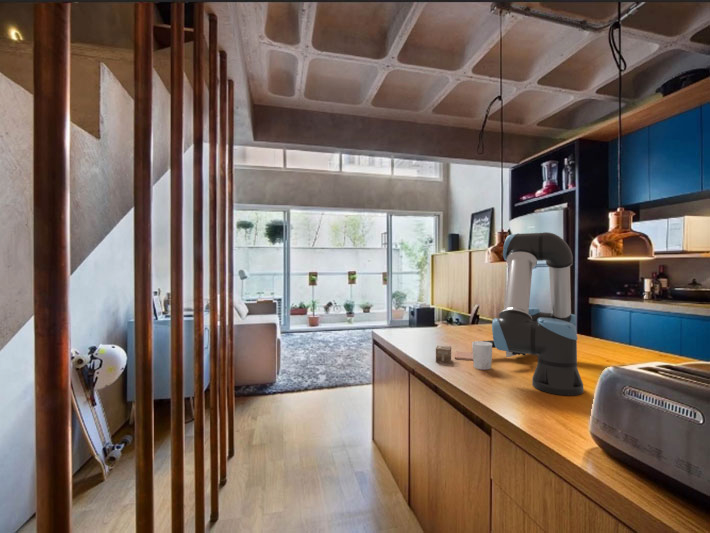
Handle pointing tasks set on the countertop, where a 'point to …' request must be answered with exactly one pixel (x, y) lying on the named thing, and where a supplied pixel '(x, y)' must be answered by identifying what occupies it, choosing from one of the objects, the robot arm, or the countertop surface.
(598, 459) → the countertop surface
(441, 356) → the letter block
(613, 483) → the countertop surface
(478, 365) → the white cup
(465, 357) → the coaster
